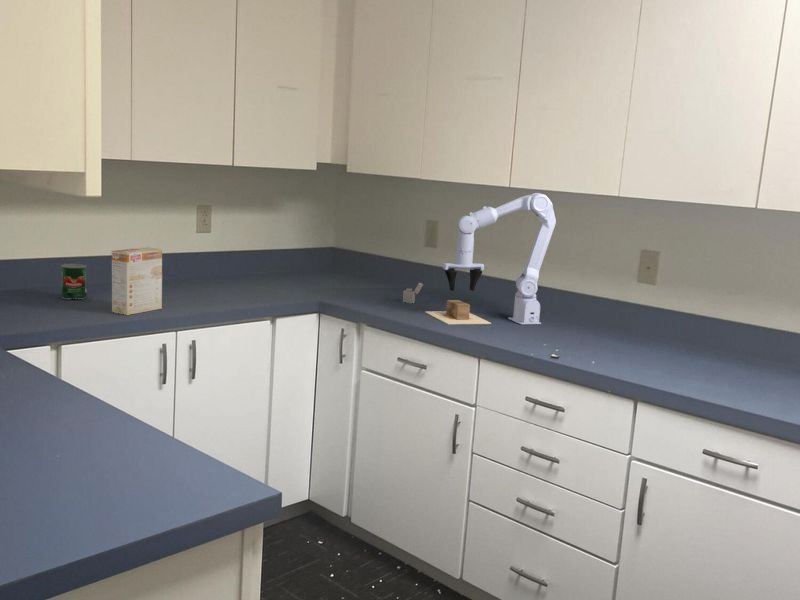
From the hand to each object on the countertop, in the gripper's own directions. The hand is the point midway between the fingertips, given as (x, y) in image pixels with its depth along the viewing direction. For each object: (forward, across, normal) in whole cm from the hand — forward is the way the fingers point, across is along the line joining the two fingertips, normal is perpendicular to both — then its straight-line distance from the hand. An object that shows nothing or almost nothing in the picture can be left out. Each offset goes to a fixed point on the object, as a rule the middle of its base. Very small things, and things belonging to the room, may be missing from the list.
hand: (461, 290), depth 276 cm
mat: (+10, +2, +1) cm, 10 cm away
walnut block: (+9, +2, +1) cm, 9 cm away
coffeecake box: (+9, +105, -17) cm, 107 cm away
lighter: (+10, +7, -26) cm, 29 cm away
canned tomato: (+9, +124, -39) cm, 131 cm away
